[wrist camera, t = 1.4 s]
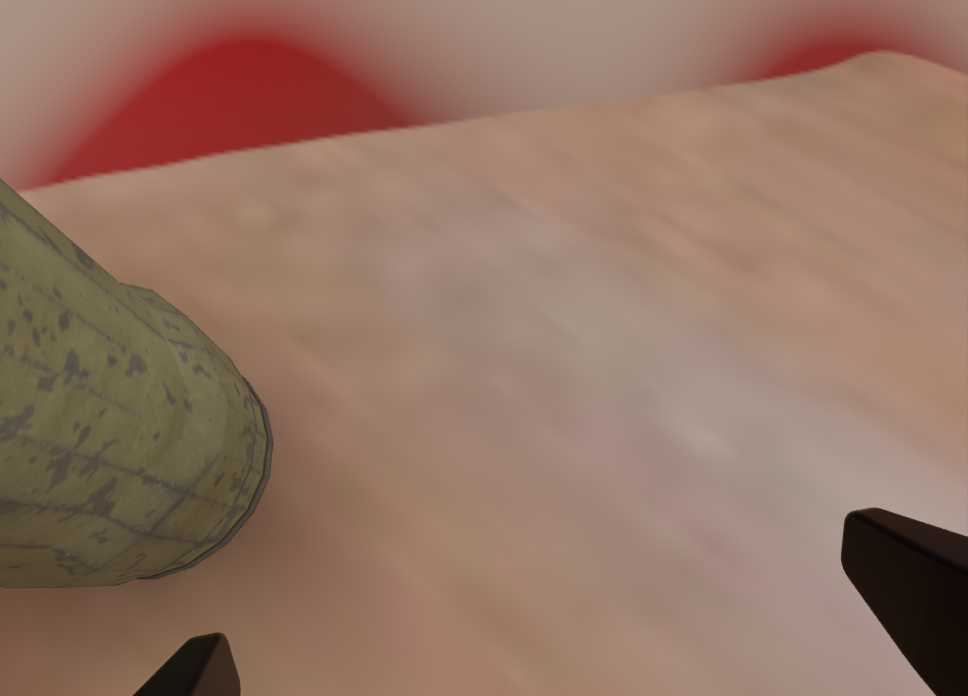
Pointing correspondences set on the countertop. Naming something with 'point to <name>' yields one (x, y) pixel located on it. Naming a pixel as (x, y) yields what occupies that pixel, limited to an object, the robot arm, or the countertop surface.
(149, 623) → the countertop surface
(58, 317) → the olive cylinder
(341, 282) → the countertop surface
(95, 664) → the countertop surface
